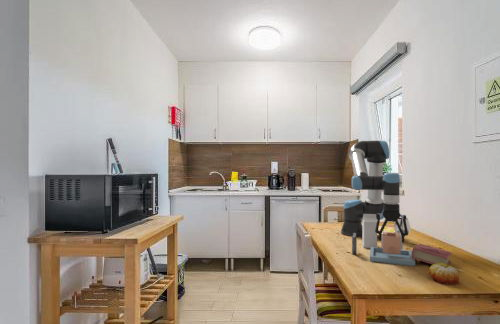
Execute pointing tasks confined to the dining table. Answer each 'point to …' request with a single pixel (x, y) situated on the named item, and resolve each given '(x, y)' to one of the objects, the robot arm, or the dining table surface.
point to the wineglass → (402, 227)
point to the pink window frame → (391, 243)
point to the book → (430, 254)
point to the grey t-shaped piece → (354, 243)
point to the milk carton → (369, 230)
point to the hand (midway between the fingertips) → (391, 247)
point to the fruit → (444, 273)
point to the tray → (391, 257)
